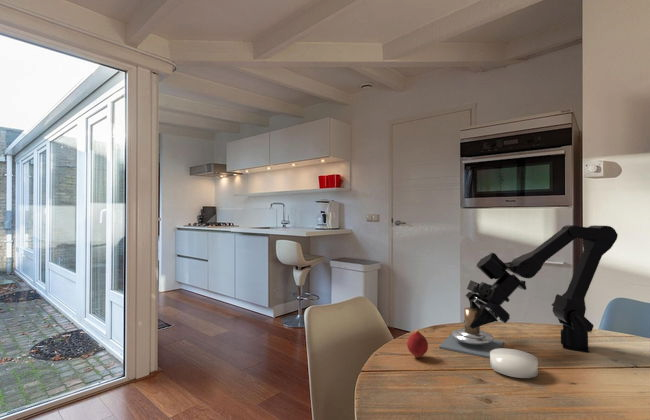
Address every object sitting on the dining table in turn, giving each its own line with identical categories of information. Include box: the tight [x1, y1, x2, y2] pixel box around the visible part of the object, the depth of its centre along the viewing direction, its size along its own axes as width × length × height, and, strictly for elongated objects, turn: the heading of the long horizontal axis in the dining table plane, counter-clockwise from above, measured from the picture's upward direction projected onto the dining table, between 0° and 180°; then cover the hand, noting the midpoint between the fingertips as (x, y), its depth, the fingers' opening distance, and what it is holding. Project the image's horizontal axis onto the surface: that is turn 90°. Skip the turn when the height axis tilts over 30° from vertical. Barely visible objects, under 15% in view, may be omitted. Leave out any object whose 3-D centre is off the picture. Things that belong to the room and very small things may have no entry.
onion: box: [406, 329, 429, 359], centre depth 101 cm, size 6×6×8 cm
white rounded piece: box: [489, 347, 539, 379], centre depth 91 cm, size 11×11×4 cm
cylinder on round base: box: [451, 306, 494, 345], centre depth 110 cm, size 12×12×9 cm
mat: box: [438, 332, 505, 359], centre depth 110 cm, size 16×16×1 cm
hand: (467, 325), depth 110 cm, fingers closed on cylinder on round base, 4 cm apart
